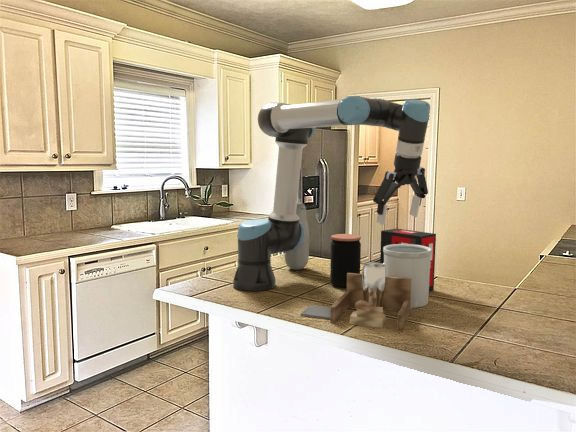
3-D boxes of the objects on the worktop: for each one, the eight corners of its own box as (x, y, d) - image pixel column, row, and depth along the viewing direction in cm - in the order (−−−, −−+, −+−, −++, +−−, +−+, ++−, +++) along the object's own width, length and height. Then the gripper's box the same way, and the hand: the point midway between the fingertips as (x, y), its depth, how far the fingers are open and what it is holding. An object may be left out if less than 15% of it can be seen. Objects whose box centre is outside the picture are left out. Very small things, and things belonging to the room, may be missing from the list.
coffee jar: (359, 281, 176) (360, 234, 173) (360, 289, 165) (361, 238, 163) (330, 281, 177) (331, 233, 174) (330, 288, 166) (330, 238, 164)
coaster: (300, 315, 137) (300, 313, 137) (310, 306, 146) (310, 304, 146) (330, 319, 134) (330, 317, 134) (338, 310, 142) (338, 308, 142)
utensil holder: (403, 311, 141) (405, 254, 139) (372, 298, 155) (373, 245, 152) (439, 304, 148) (442, 249, 146) (407, 292, 161) (409, 242, 159)
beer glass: (386, 312, 140) (388, 263, 139) (383, 320, 134) (384, 268, 132) (363, 310, 143) (364, 261, 141) (359, 317, 136) (360, 266, 134)
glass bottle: (283, 266, 200) (283, 200, 197) (307, 266, 201) (307, 200, 198) (285, 272, 190) (285, 203, 187) (310, 271, 191) (311, 202, 188)
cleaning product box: (433, 290, 164) (436, 233, 162) (418, 295, 159) (421, 236, 156) (394, 281, 177) (396, 228, 175) (379, 285, 171) (381, 230, 169)
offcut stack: (349, 323, 131) (350, 303, 130) (354, 318, 135) (354, 298, 135) (382, 328, 127) (383, 307, 127) (385, 322, 132) (386, 301, 132)
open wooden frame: (330, 322, 132) (331, 287, 130) (347, 303, 149) (347, 272, 148) (401, 332, 125) (402, 295, 123) (410, 311, 142) (411, 278, 141)
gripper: (384, 163, 129) (373, 232, 139) (448, 153, 141) (434, 217, 150) (367, 155, 135) (358, 221, 144) (430, 146, 147) (418, 207, 156)
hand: (397, 219), depth 147 cm, fingers open, 13 cm apart
